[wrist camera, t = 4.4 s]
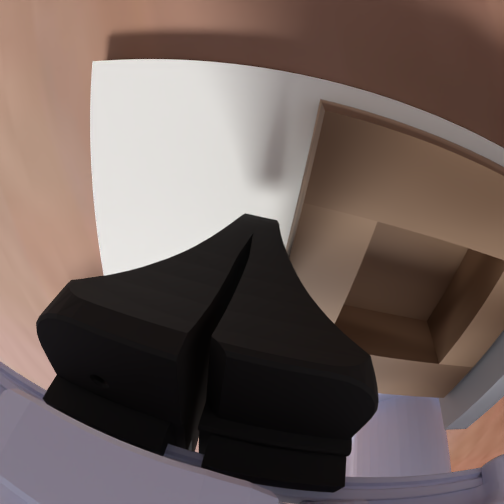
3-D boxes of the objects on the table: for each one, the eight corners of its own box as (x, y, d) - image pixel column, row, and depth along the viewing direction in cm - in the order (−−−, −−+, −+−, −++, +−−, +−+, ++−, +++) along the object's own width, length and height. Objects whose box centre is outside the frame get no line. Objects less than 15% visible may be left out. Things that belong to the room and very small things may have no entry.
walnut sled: (430, 344, 14) (443, 397, 11) (268, 314, 15) (256, 373, 12) (521, 176, 9) (569, 215, 6) (320, 99, 9) (325, 109, 6)
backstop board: (452, 343, 15) (475, 428, 10) (113, 268, 17) (54, 343, 12) (545, 173, 9) (623, 237, 4) (106, 60, 10) (-3, 77, 5)
